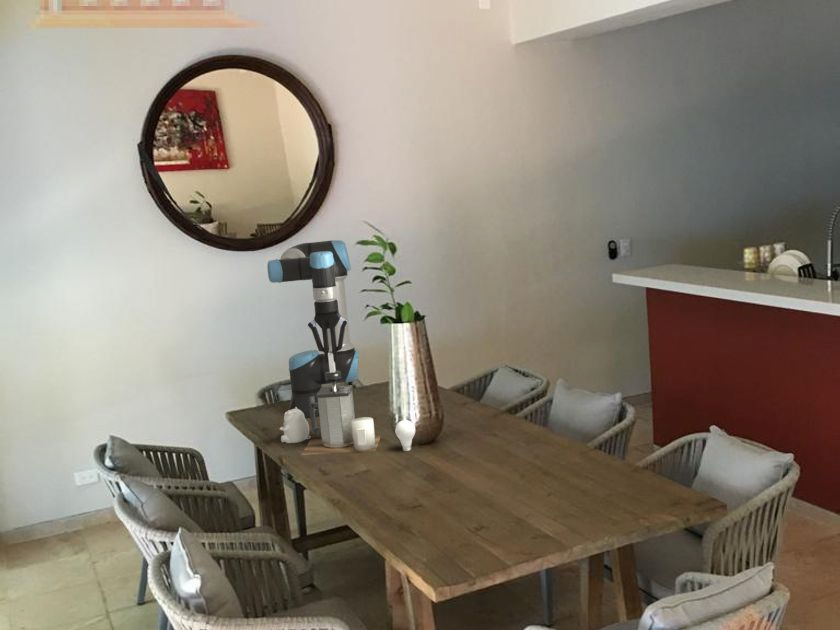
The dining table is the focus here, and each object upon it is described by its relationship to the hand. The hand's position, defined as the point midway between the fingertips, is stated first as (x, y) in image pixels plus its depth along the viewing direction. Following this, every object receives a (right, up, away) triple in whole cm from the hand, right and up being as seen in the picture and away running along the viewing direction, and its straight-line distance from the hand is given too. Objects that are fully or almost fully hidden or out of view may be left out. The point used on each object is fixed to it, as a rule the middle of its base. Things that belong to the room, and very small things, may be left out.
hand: (332, 371), depth 282 cm
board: (+3, -25, +2) cm, 26 cm away
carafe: (0, -24, +4) cm, 24 cm away
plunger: (+1, -18, +3) cm, 18 cm away
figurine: (-13, -25, +13) cm, 32 cm away
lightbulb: (+24, -26, -8) cm, 36 cm away
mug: (+11, -24, -3) cm, 26 cm away
